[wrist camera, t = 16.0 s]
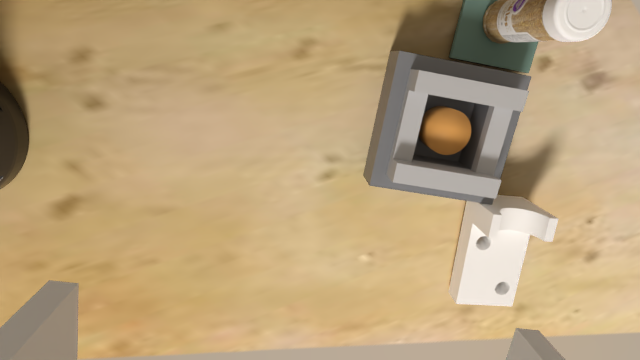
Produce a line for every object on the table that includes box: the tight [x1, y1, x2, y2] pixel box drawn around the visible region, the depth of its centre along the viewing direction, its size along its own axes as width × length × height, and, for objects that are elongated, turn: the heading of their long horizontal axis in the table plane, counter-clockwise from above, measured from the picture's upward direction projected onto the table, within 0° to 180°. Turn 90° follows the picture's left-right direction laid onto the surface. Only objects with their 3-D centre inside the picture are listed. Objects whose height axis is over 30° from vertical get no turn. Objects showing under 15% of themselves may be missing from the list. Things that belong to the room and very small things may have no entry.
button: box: [419, 106, 471, 155], centre depth 46 cm, size 5×5×3 cm
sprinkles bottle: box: [483, 0, 612, 44], centre depth 39 cm, size 5×5×13 cm
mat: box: [449, 0, 538, 73], centre depth 46 cm, size 9×9×1 cm
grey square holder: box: [363, 51, 531, 205], centre depth 45 cm, size 14×14×7 cm
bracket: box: [449, 195, 558, 306], centre depth 50 cm, size 13×7×8 cm, turn 174°
